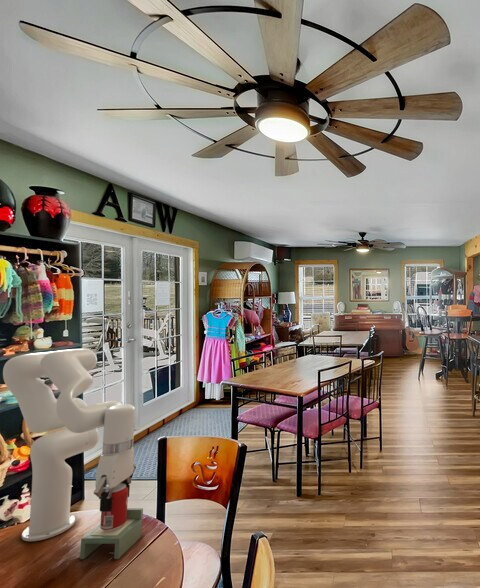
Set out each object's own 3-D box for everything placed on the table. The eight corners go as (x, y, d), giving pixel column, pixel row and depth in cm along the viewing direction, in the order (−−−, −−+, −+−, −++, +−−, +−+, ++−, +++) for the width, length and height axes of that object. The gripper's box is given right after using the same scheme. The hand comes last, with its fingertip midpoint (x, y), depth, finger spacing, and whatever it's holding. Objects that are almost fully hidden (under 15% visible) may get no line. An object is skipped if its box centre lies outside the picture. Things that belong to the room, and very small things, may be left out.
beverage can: (131, 521, 109) (133, 483, 109) (113, 534, 102) (116, 493, 103) (113, 519, 109) (115, 481, 110) (94, 532, 103) (97, 491, 103)
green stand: (79, 559, 100) (81, 528, 101) (106, 536, 110) (108, 508, 111) (118, 559, 101) (120, 528, 101) (141, 536, 111) (143, 508, 111)
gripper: (126, 435, 115) (123, 489, 115) (82, 457, 98) (77, 521, 97) (149, 435, 116) (146, 489, 115) (108, 458, 98) (105, 521, 98)
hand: (114, 503), depth 106 cm, fingers closed on beverage can, 6 cm apart
